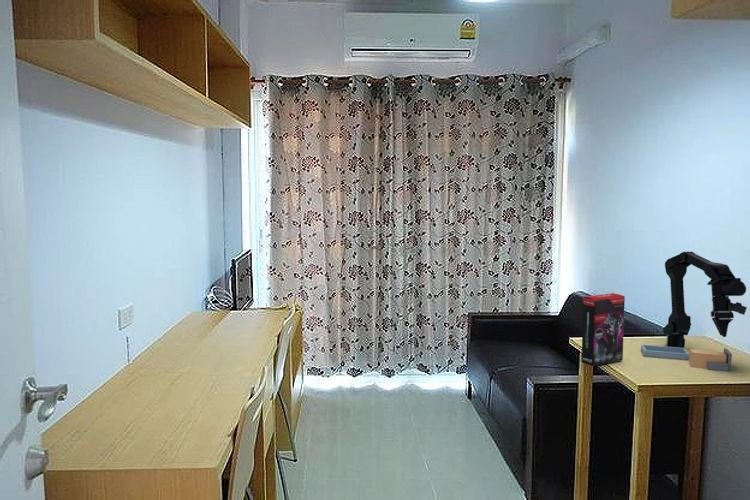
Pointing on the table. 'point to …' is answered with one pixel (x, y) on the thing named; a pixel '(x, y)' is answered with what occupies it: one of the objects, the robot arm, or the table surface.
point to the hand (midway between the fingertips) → (723, 336)
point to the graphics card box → (602, 329)
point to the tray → (664, 352)
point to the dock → (720, 365)
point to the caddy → (705, 358)
